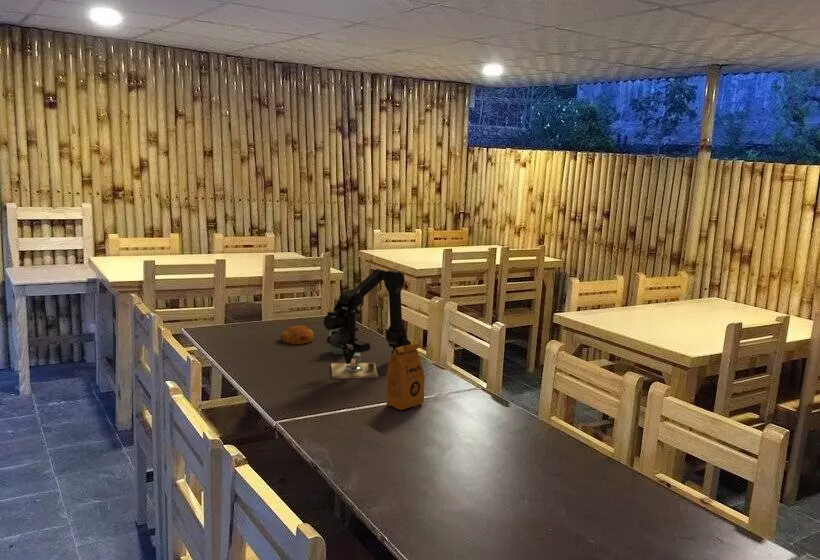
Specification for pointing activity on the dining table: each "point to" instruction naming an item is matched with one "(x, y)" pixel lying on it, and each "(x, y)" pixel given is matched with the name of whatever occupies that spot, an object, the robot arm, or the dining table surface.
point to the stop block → (371, 366)
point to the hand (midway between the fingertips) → (347, 364)
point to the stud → (354, 368)
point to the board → (340, 372)
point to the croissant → (297, 335)
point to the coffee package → (405, 378)
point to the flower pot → (333, 349)
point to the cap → (355, 359)
